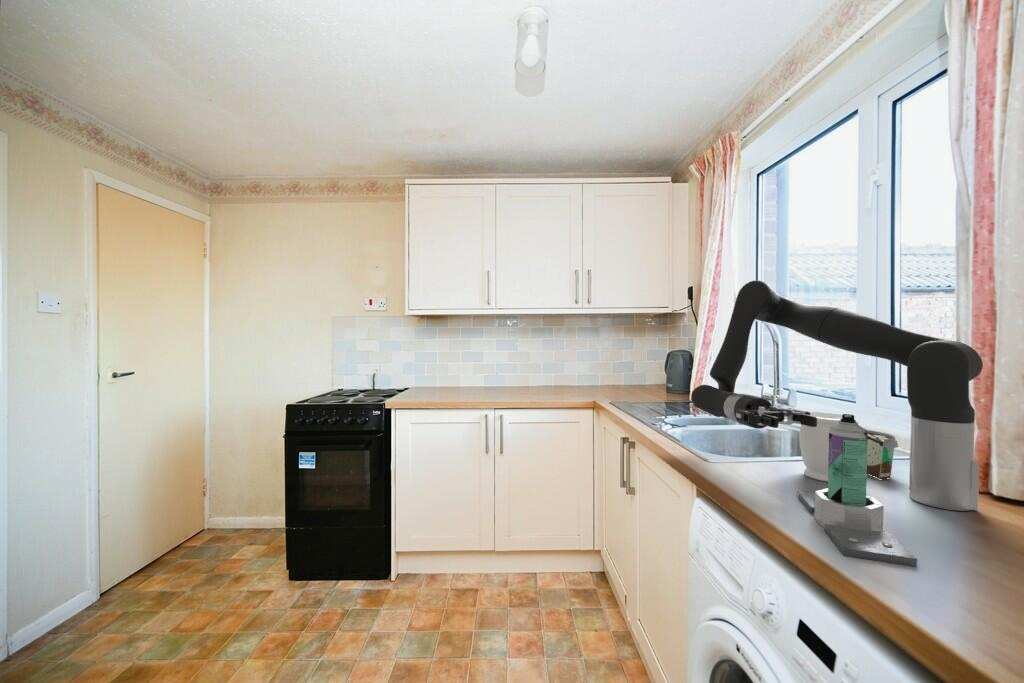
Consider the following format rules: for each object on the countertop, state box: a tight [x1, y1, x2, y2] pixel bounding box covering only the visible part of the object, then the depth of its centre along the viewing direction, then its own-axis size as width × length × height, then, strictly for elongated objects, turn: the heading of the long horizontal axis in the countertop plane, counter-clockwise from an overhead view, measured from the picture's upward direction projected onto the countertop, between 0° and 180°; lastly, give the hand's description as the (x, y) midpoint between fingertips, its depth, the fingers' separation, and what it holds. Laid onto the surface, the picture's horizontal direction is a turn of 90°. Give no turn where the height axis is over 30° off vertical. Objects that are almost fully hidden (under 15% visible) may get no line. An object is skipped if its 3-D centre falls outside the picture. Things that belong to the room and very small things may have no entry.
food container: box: [866, 429, 899, 479], centre depth 107 cm, size 12×6×10 cm, turn 179°
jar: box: [798, 411, 842, 483], centre depth 104 cm, size 11×10×15 cm
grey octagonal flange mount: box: [797, 487, 918, 568], centre depth 78 cm, size 9×26×5 cm, turn 160°
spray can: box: [827, 413, 868, 506], centre depth 78 cm, size 6×6×20 cm
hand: (796, 422), depth 90 cm, fingers open, 8 cm apart
